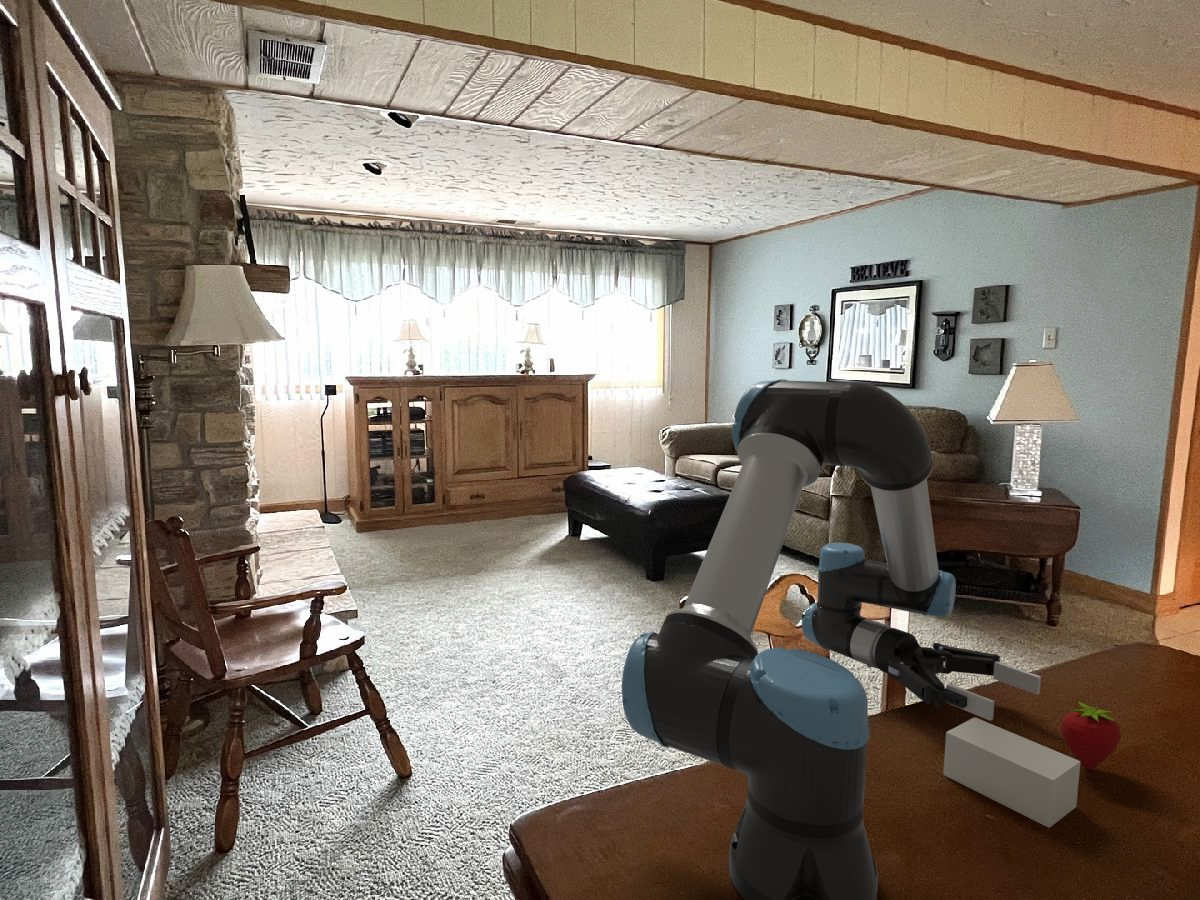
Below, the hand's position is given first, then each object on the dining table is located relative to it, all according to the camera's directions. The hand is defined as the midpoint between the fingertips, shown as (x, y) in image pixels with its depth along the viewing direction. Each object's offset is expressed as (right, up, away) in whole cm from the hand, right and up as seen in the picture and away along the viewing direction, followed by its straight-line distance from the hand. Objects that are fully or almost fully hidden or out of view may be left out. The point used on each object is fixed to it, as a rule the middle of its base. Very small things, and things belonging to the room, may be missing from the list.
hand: (1016, 697), depth 104 cm
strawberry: (+5, -7, -7) cm, 11 cm away
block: (-8, -8, -12) cm, 17 cm away
